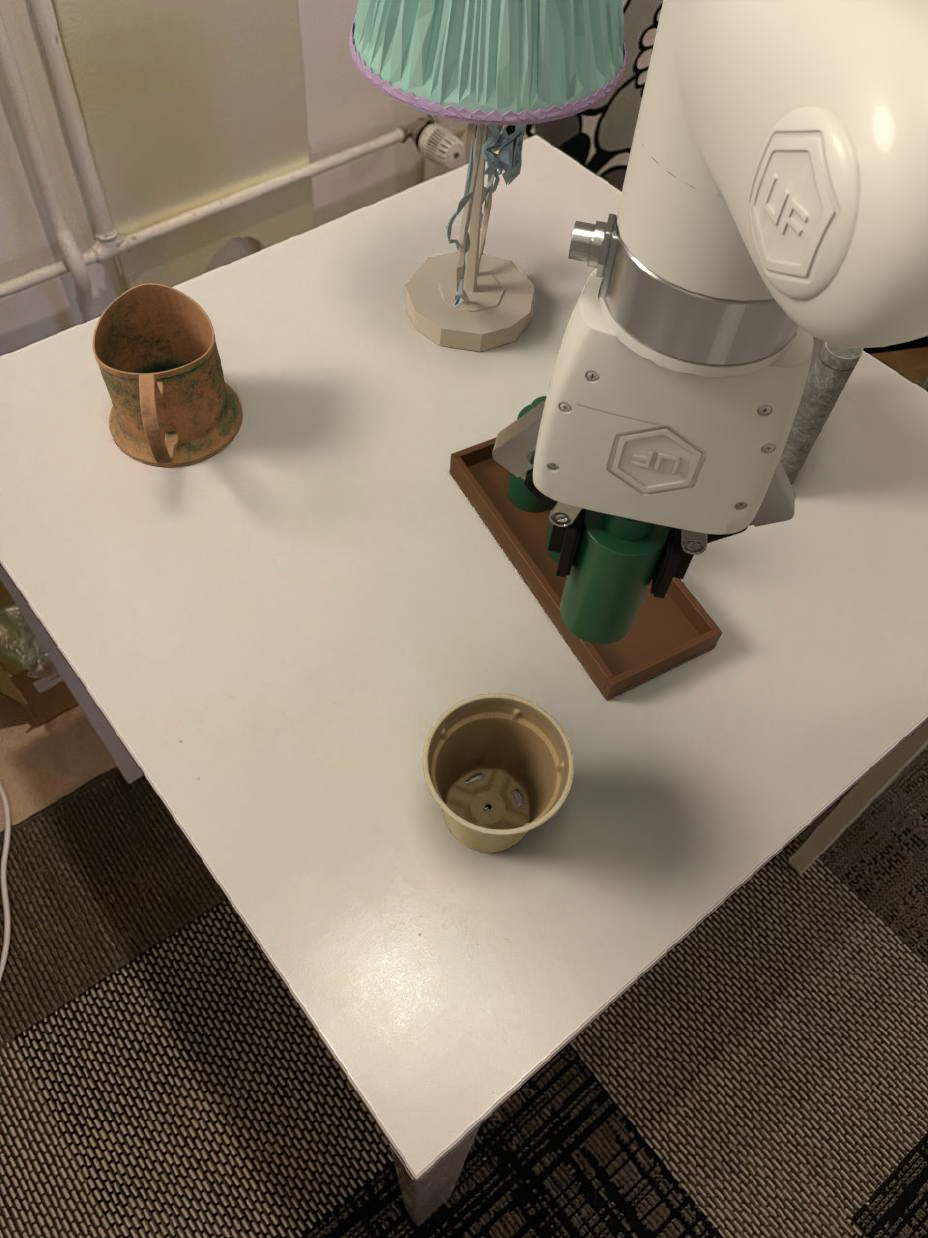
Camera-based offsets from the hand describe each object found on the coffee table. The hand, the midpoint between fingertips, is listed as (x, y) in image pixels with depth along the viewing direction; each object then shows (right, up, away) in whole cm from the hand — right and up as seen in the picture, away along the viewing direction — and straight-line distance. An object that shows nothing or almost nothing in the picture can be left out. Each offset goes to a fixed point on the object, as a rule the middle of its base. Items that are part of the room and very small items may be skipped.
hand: (613, 563), depth 49 cm
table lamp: (-7, +28, +44) cm, 52 cm away
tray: (+1, +2, +27) cm, 27 cm away
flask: (+21, +14, +36) cm, 44 cm away
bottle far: (-2, +8, +30) cm, 31 cm away
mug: (-33, +12, +32) cm, 48 cm away
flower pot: (-6, -16, +15) cm, 23 cm away
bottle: (0, -3, +4) cm, 5 cm away
